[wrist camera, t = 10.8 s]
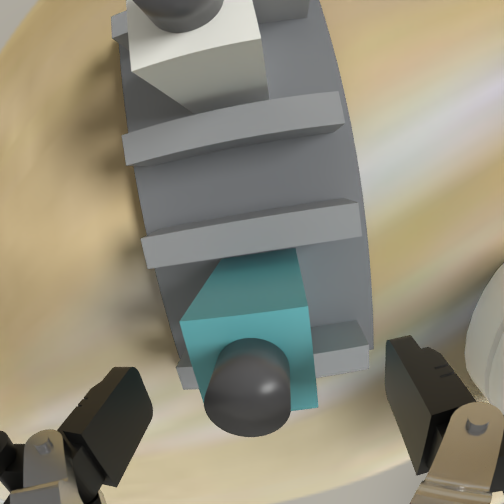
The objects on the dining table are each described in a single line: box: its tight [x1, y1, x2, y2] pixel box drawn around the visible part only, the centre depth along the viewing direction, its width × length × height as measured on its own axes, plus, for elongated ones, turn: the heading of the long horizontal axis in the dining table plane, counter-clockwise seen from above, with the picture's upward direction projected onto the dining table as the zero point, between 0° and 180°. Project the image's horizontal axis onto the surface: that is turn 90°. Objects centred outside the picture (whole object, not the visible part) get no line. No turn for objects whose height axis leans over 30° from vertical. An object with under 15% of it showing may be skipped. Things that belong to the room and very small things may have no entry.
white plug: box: [126, 0, 269, 114], centre depth 10 cm, size 4×4×10 cm
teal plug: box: [179, 248, 318, 437], centre depth 13 cm, size 4×4×10 cm
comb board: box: [111, 0, 374, 390], centre depth 16 cm, size 12×22×4 cm, turn 10°
